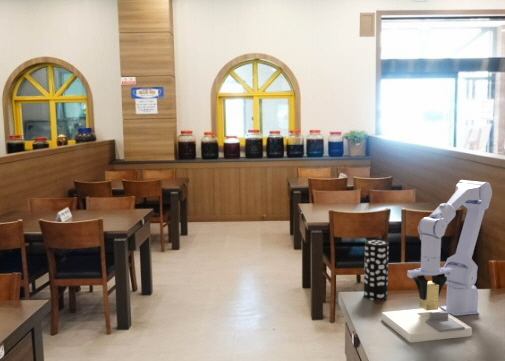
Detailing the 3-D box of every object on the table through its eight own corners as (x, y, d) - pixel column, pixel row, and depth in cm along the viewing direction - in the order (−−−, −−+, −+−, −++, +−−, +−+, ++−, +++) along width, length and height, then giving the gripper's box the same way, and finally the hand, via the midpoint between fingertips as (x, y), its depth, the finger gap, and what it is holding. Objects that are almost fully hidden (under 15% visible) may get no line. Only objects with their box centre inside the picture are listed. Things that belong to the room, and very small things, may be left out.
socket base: (437, 314, 176) (437, 307, 176) (471, 335, 159) (471, 327, 158) (381, 319, 172) (381, 312, 171) (410, 342, 154) (410, 334, 154)
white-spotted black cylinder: (383, 302, 188) (384, 246, 186) (360, 297, 192) (361, 243, 190) (390, 295, 195) (391, 241, 193) (368, 291, 199) (369, 238, 197)
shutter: (449, 319, 164) (449, 310, 164) (464, 329, 157) (465, 320, 156) (425, 322, 163) (425, 313, 162) (440, 332, 155) (440, 322, 155)
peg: (430, 305, 171) (431, 280, 170) (437, 309, 167) (438, 284, 166) (419, 306, 170) (420, 281, 169) (426, 310, 166) (427, 285, 165)
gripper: (444, 251, 172) (442, 292, 173) (402, 254, 168) (401, 295, 170) (457, 257, 165) (455, 299, 166) (414, 259, 162) (413, 303, 163)
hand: (429, 298), depth 168 cm, fingers closed on peg, 4 cm apart
